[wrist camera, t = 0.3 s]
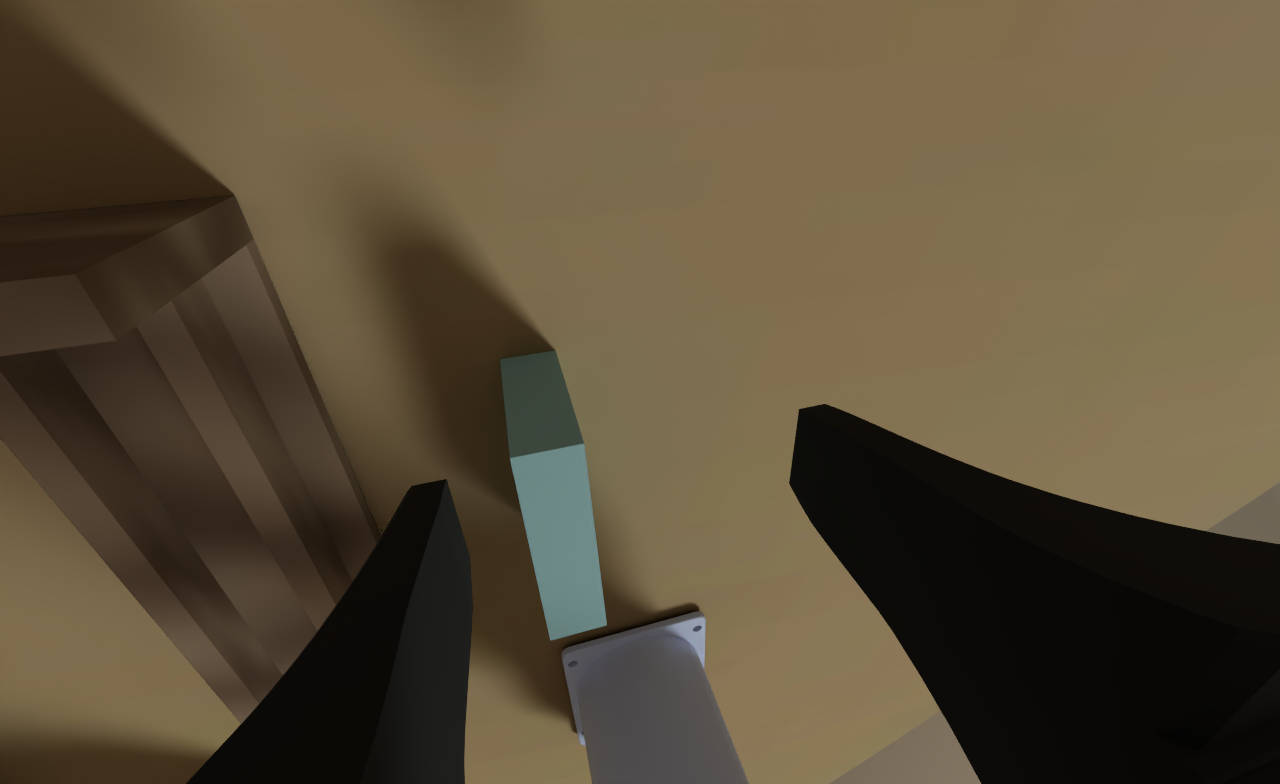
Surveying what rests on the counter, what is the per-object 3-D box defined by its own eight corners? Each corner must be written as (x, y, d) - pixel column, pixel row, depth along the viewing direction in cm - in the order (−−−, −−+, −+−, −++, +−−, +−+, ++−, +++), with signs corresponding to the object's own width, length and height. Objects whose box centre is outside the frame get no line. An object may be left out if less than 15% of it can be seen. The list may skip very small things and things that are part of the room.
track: (431, 654, 25) (419, 824, 20) (246, 703, 24) (173, 904, 18) (234, 195, 14) (75, 274, 9) (-135, 228, 13) (-643, 353, 7)
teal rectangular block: (578, 509, 24) (606, 625, 19) (533, 519, 23) (550, 640, 18) (555, 349, 19) (583, 443, 14) (499, 358, 19) (509, 457, 14)
